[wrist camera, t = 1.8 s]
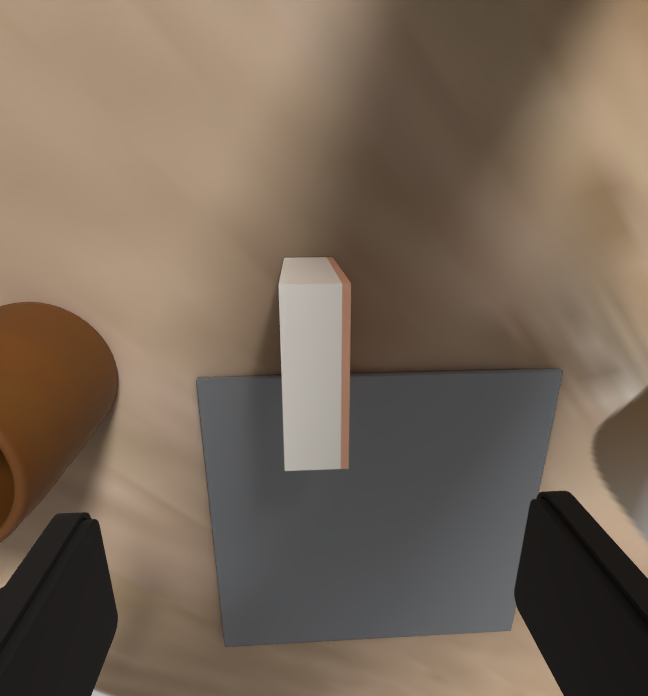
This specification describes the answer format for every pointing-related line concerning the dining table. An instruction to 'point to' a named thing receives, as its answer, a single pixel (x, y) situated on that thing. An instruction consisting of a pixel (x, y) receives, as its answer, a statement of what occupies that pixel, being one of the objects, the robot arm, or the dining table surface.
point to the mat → (376, 506)
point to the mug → (46, 400)
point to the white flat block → (315, 363)
